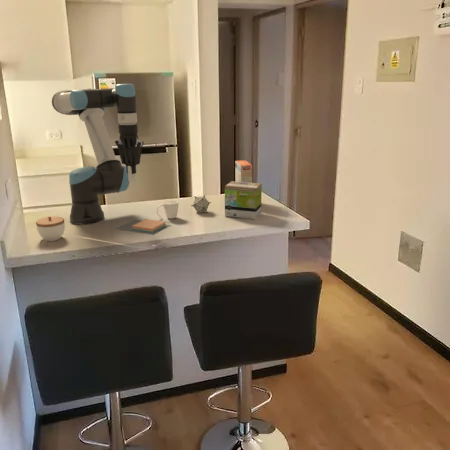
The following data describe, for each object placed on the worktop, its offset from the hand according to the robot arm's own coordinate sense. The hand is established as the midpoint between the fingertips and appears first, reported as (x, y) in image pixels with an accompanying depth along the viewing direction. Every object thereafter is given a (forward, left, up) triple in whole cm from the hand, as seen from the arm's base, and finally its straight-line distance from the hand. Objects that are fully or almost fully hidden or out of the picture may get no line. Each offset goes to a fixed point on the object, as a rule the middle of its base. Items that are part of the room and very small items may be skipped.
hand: (132, 181), depth 198 cm
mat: (+4, 0, -20) cm, 21 cm away
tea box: (+35, +35, -21) cm, 54 cm away
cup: (+7, +15, -20) cm, 26 cm away
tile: (+2, 0, -19) cm, 19 cm away
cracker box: (+27, +53, -21) cm, 63 cm away
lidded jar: (-22, -26, -21) cm, 40 cm away
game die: (+15, +31, -21) cm, 40 cm away
